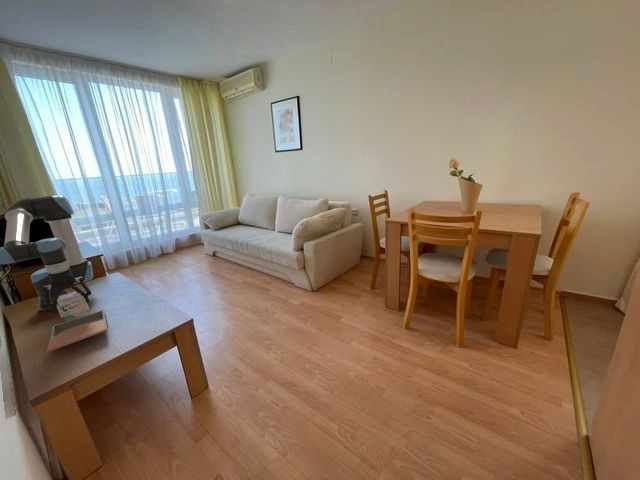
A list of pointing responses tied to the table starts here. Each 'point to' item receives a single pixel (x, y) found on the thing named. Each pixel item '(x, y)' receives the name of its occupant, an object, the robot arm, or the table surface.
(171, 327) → the table surface
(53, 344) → the lid
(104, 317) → the box
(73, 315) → the ink box
